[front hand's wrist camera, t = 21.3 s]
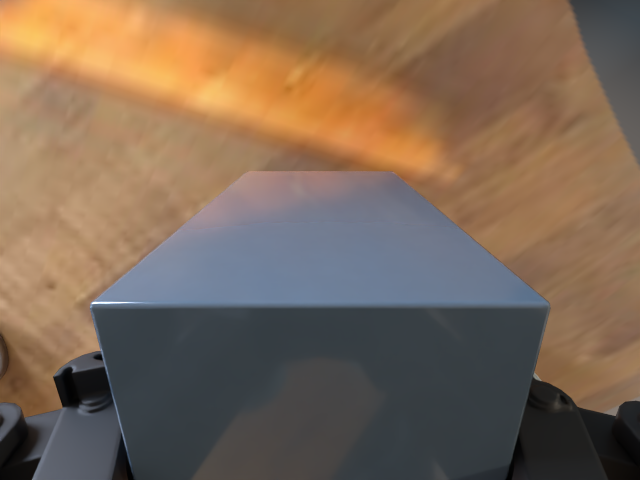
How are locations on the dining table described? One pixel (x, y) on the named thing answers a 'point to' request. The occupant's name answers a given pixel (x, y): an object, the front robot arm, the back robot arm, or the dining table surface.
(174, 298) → the block
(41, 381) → the dining table surface
